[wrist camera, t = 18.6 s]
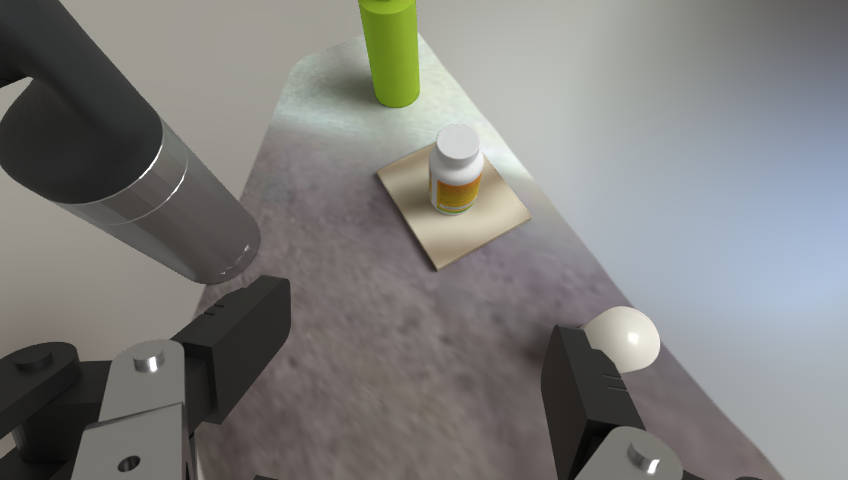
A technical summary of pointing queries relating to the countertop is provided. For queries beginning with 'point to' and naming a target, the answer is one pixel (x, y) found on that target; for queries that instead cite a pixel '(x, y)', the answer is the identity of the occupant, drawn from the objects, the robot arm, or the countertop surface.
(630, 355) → the ceramic jar
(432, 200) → the supplement bottle
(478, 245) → the ash board
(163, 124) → the robot arm
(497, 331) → the countertop surface
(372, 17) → the soap dispenser
